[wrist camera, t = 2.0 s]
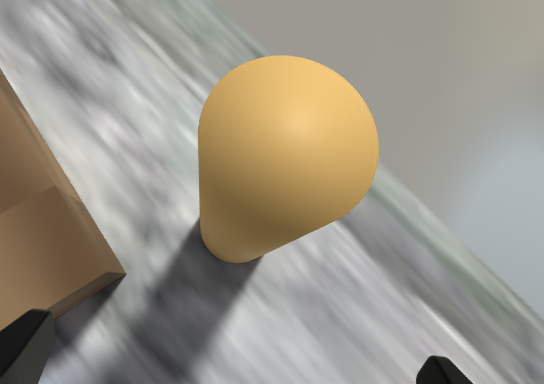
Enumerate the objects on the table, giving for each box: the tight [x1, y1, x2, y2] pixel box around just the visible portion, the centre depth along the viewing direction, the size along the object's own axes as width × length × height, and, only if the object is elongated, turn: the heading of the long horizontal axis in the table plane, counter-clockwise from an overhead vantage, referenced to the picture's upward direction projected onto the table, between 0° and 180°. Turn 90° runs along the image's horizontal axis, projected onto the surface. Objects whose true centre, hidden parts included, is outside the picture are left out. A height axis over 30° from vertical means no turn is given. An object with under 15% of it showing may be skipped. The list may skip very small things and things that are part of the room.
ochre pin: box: [198, 55, 379, 263], centre depth 14 cm, size 4×4×13 cm
